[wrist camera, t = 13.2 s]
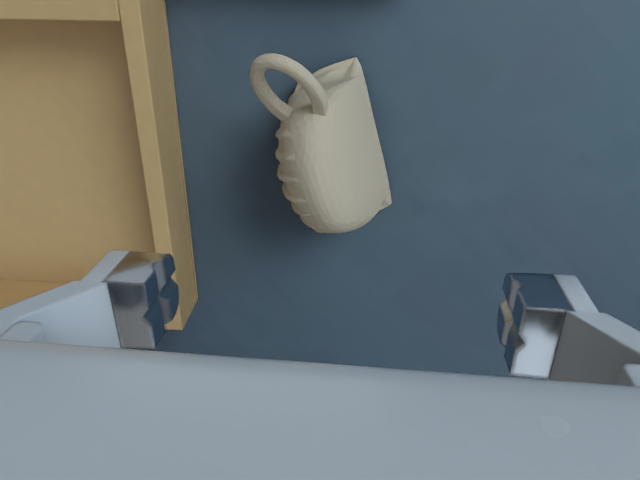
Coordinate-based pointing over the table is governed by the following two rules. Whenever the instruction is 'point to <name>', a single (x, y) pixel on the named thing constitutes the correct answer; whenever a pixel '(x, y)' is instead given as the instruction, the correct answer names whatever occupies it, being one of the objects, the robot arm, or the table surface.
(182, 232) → the tray
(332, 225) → the decorative ornament
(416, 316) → the table surface
